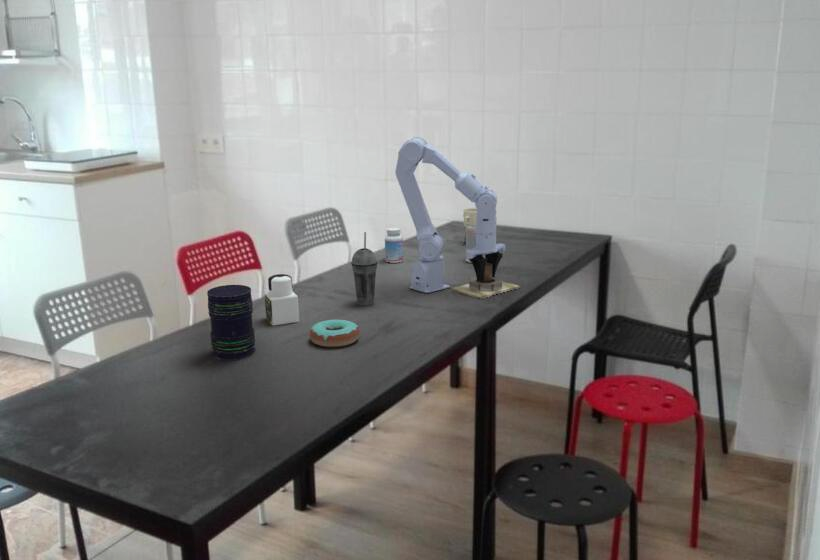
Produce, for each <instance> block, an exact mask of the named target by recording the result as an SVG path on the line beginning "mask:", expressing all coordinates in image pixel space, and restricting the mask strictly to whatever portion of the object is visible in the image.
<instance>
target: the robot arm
mask: <svg viewBox="0 0 820 560" xmlns="http://www.w3.org/2000/svg"><path fill="white" fill-rule="evenodd" d="M397 154H398V155H397V156H398V157H397V161H396V162H397V163H396V167H395V170H394V172H395V176H396V180H397V181H398V185H399V188H400V190H401V192H402V193H401V194H402V195H403V198H404V200H405V203H406V207H407V209H408V211H409V214H410V217H411V219H412V222H413V225H414V227H415V230H416V240H417V243H418V248H417V250H418V254H419V256H418V260H417V261H415V262H413V263H412V265H411V266H410V280H411V281H410V284H411V285H410V286H409V289H412V290H415V291H418V292H421V293H425V294H430V293H433V292H437V291H441V290H446V289H449V288H450V287H451V286H450V285H449V284H445V283H444V282H445V279H444V276H445V275H444V274H445V270H444V269H445V267H444V266H445V264H444V263H445V262H444V261H445V259H444V255H443V254H442V251H443V249H444V247H445V241H444V239H443V237H442V236H441V235H440V234H439V233H438V231H437V229H436V227H435V225H434V224H433V222H432V219H431V217H430V214H429V212H428V209H427V206H426V203H425V201H424V198H423V195H422V192H421V190H420V187H419V184H418V181H417V179H416V177H415V174H414V173H415V171H416V169H417V167H418V166H419V163H420V162H421V163H423V164H431V165H433V166H435V167H436V168H437V169H439V171H441V172H443V173H444V174H445V175H446V176H447V177H449V178H450V179H451V180H452V181H454V187H455V189H456V190H457V191H458V192H459V193H461V194H462V195H463V196H464V197H465V198H466V199H468V200H469V201H470V202H472V203H474V205H475V208H477V218H476V247H475V248H473V249H471V250H469V251H466V250H465V259H466V258H469V259H470V261H471V263H470V264H472V266H473V269H474V272H475V277H477V280H481V281H483V280H484V273H485V266H486V263H491V264H492V278H494V277H495V276H496V273H497V269H498V266H499V263H500V261H501V260H502V258H503V255H504V254H503V253H502V252H506V244H505V243H501V242H500V243H497V216H496V215H497V208H496V207H497V203H498V197H497V196H498V195H496V193H495V191H494V190H492V189H489V186H488V185H484V184H483V183H481V181H479V180H478V179H477V175H476V174H474V173H472V174H471V173H470V172H462V171H461V170H459V168H457V166H455V164H453V162H451V161H450V160H449V159H448V158H447V157H446V156H445V155H444V154H443V153H441V151H440V150H438V149H437V148H436V147H434V145H432V143H431V144H430V143H429V142H427V140H425V139H424V138H422V137H420V136H416V137H415V136H414V137H413V138H411V139H409V140H406V141H405V142H404V143H403V144H402V146H401V148H399V150H398V153H397Z"/></svg>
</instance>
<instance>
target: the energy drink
mask: <svg viewBox="0 0 820 560" xmlns="http://www.w3.org/2000/svg"><path fill="white" fill-rule="evenodd" d="M465 234H466V244H465V252H466V251H469V250H471V249H473V248H475V247H476V225H470V226H467V227H465ZM465 262H466V263H467V262H468V264H472V263H471V261H470V259H469V258H466V257H465Z"/></svg>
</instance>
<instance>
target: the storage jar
mask: <svg viewBox="0 0 820 560" xmlns="http://www.w3.org/2000/svg"><path fill="white" fill-rule="evenodd" d="M206 295H207V309H208V311H207V313H208V315H209V318H210V326H211V327H210V328H211V331H210V335H209V336H210V343H211V344H210V345H211V349H212V357H213V358H214V359H217V360H222V361H237V360H242V359H243V360H244V359H247V358H250V357H252V356H253V355H255V353H256V347H255V345H256V344H255V342H256V335H255V333H256V331H255V327H253V326H254V325H253V316H252V315H253V312H254V311H253V310H254V308H253V299H252V288H251V287H250V286H247V285H243V284H226V285H219V286H215V287H212V288H210V289H208V290H207V293H206Z"/></svg>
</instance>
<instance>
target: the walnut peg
mask: <svg viewBox="0 0 820 560" xmlns="http://www.w3.org/2000/svg"><path fill="white" fill-rule="evenodd" d="M478 282H480V283H492V264H491V263H487V262H486V266H485V273H484V280H483V281H481V280H478Z"/></svg>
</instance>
